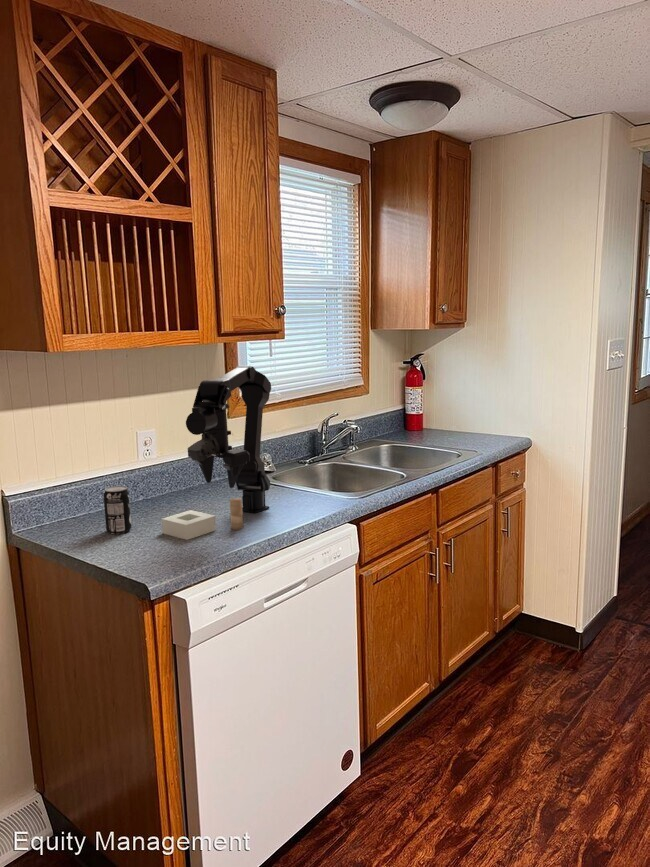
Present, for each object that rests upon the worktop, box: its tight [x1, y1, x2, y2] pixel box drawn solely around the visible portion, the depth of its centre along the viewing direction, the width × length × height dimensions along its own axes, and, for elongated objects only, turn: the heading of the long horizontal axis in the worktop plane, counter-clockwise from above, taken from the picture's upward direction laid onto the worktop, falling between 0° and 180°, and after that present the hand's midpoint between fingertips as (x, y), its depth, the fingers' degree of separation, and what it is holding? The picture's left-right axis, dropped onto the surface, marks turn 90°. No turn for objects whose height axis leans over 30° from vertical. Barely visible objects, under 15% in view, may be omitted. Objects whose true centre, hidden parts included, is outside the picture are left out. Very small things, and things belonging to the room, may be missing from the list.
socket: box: [161, 509, 217, 541], centre depth 179 cm, size 10×10×4 cm
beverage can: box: [103, 485, 132, 535], centre depth 180 cm, size 7×7×12 cm
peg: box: [229, 497, 244, 531], centre depth 180 cm, size 3×3×8 cm
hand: (220, 485), depth 178 cm, fingers open, 9 cm apart
